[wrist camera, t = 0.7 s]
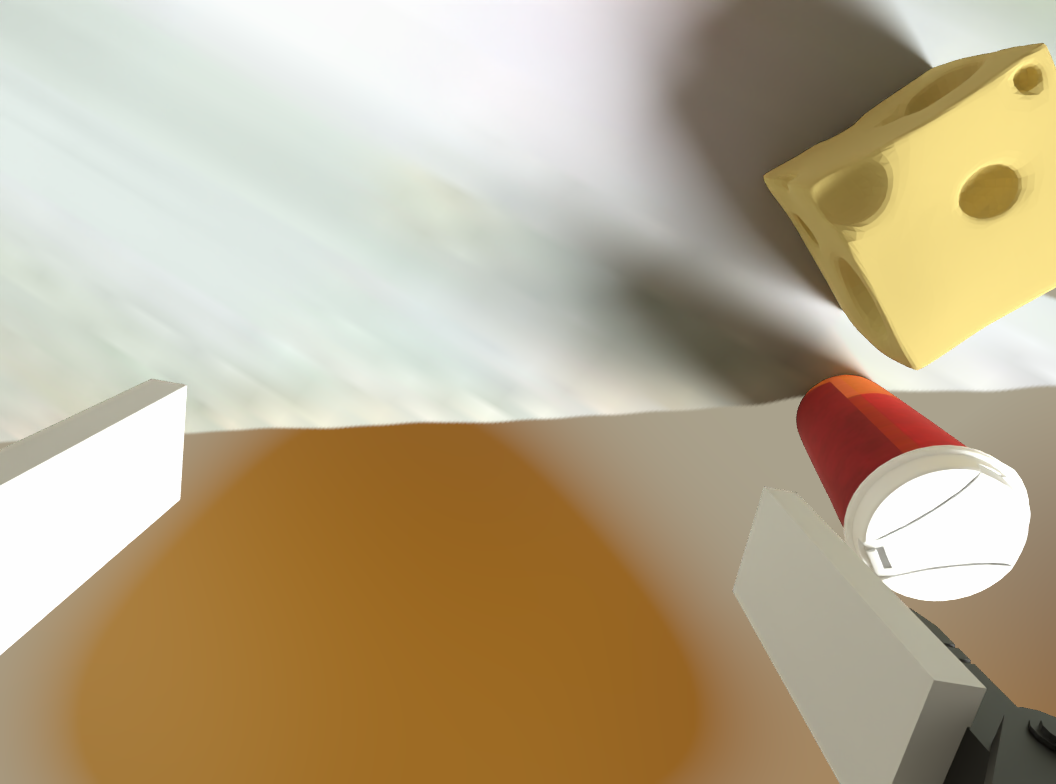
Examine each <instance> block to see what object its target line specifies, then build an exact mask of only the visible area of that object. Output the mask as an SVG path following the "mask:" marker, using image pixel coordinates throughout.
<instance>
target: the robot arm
mask: <svg viewBox="0 0 1056 784" xmlns="http://www.w3.org/2000/svg"><path fill="white" fill-rule="evenodd" d="M186 394H187V385H184V384H178V383H173V382H167V381H161V380H156V379H150V380H148V381H146V382H143V383H141V384H139V385H137V386H135V387H133V388H131V389H129V390H126V391H124V392H122V393H120V394H118V395H116V396H114V397H111V398H109V399H107V400H105V401H103V402H101V403H99V404H97V405H94V406H92V407H90V408H88V409H86V410H84V411H82V412H79V413H77V414H75V415H73V416H71V417H69V418H67V419H65V420H62V421H60V422H58V423H56V424H54V425H52V426H50V427H47V428H45V429H43V430H41V431H39V432H37V433H35V434H33V435H30V436H28V437H26V438H24V439H22V440H20V441H18V442H16V443H13V444H11V445H9V446H7V447H5V448H3V449H1V450H0V655H1V654H2V653H3V652H4V651H6V649H8V648H9V647H10V646H11V645H12V644H14V643H15V642H16V641H17V640H18V639H19V638H21V637H22V636H23V635H24V634H25V633H26V632H27V631H29V630H30V629H31V628H32V627H33V626H34V625H36V624H37V623H38V622H39V621H40V620H41V619H43V618H44V617H45V616H46V615H47V614H48V613H49V612H50V611H52V610H53V609H54V608H55V607H56V606H58V605H59V604H60V603H61V602H62V601H63V600H64V599H66V598H67V597H68V596H69V595H70V594H71V593H72V592H74V591H75V590H76V589H77V588H78V587H79V586H81V585H82V584H83V583H84V582H85V581H86V580H88V579H89V578H90V577H91V576H92V575H93V574H95V573H96V572H97V571H98V570H99V569H100V568H101V567H103V566H104V565H105V564H106V563H107V562H108V561H109V560H111V559H112V558H113V557H114V556H115V555H116V554H118V553H119V552H120V551H121V550H122V549H123V548H124V547H126V546H127V545H128V544H129V543H130V542H131V541H132V540H134V539H135V538H136V537H137V536H138V535H140V534H141V533H142V532H143V531H144V530H145V529H147V528H148V527H149V525H151V524H152V523H153V522H155V521H156V520H157V519H158V518H159V517H160V516H161V515H163V514H164V513H165V512H166V511H167V510H168V509H170V508H171V507H172V506H173V505H174V504H175V503H176V502H178V501H179V500H180V491H181V475H182V458H183V441H184V426H185V410H186ZM733 593H734V595H735V596H736V598H737V600H738V602H739V603H740V605H741V607H742V609H743V611H744V612H745V614H746V616H747V618H748V620H749V622H750V623H751V625H752V627H753V629H754V631H755V632H756V634H757V636H758V638H759V639H760V641H761V643H762V645H763V647H764V648H765V650H766V652H767V654H768V656H769V657H770V659H771V661H772V663H773V665H774V666H775V668H776V670H777V672H778V674H779V675H780V677H781V679H782V681H783V683H784V684H785V686H786V688H787V690H788V692H789V693H790V695H791V697H792V699H793V701H794V702H795V704H796V706H797V708H798V710H799V711H800V713H801V715H802V717H803V719H804V720H805V722H806V724H807V725H808V727H809V729H810V731H811V733H812V735H813V736H814V738H815V740H816V742H817V744H818V745H819V747H820V749H821V751H822V753H823V754H824V756H825V758H826V760H827V762H828V763H829V765H830V767H831V769H832V770H833V772H834V774H835V776H836V778H837V780H838V781H839V783H840V784H1056V717H1053V716H1050V715H1048V714H1046V713H1043V712H1041V711H1037V710H1033V709H1028V708H1024V707H1017V706H1016V705H1014V703H1013V702H1012V701H1011V700H1010V699H1009V698H1008V697H1006V695H1005V694H1004V693H1003V692H1002V691H1001V690H1000V689H999V688H998V687H997V686H996V685H995V684H994V683H993V682H991V680H990V679H989V678H987V676H986V675H985V674H984V673H983V672H982V671H981V670H980V669H979V668H978V667H977V666H976V665H975V664H971V663H970V661H971V660H970V659H969V658H968V657H967V656H966V655H965V654H964V653H963V652H962V651H961V650H960V649H958V648H955V644H954V643H953V642H952V641H951V640H950V639H949V638H948V637H947V636H946V635H945V634H944V633H943V632H942V631H941V630H940V629H939V628H938V627H937V626H936V625H934V624H932V623H931V622H930V621H928V620H927V619H925V618H924V617H922V616H921V615H919V614H918V613H917V612H915V611H914V610H912V609H911V608H908V607H907V606H906V605H905V604H904V603H903V602H902V601H901V600H900V599H899V598H898V597H897V596H896V595H895V593H893V591H891V589H890V588H889V587H888V586H887V585H886V584H885V583H884V582H883V581H882V580H881V579H880V578H879V577H878V576H877V575H876V574H875V573H874V572H873V571H872V570H871V569H870V568H869V567H868V566H867V565H866V564H865V563H864V562H863V561H862V560H861V558H860V557H859V556H858V555H857V554H856V553H855V552H854V551H853V550H852V549H851V548H850V547H849V546H848V545H847V544H846V543H845V542H844V541H843V540H842V539H841V538H840V537H839V536H838V535H837V534H836V533H835V532H834V531H833V530H832V529H831V528H830V527H829V526H828V525H827V524H826V522H825V521H823V519H822V518H821V517H820V516H819V515H818V514H817V513H816V512H815V511H814V510H813V509H812V508H811V507H810V506H809V505H808V504H807V503H806V502H805V501H804V500H803V499H802V498H801V497H800V496H799V495H798V494H797V493H796V492H793V491H787V490H781V489H776V488H770V487H764V488H763V492H762V495H761V499H760V502H759V505H758V508H757V512H756V515H755V518H754V521H753V525H752V528H751V531H750V535H749V538H748V541H747V545H746V548H745V551H744V555H743V558H742V561H741V565H740V568H739V571H738V574H737V577H736V581H735V584H734V587H733Z"/></svg>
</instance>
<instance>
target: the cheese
mask: <svg viewBox="0 0 1056 784" xmlns="http://www.w3.org/2000/svg"><path fill="white" fill-rule="evenodd" d="M763 179H764V182H765V184H766V186H767V187H768V189H769V190H770V192H771V193H772V195H773V196H774V197H775V198H776V200H777V201H778V202H779V204H780V205H781V207H782V208H783V209H784V211H785V212H786V213H787V215H788V216H789V218H790V219H791V221H792V223H793V224H794V226H795V227H796V229H797V231H798V232H799V234H800V236H801V238H802V239H803V241H804V243H805V245H806V246H807V248H808V250H809V252H810V253H811V255H812V257H813V259H814V260H815V262H816V264H817V266H818V267H819V269H820V271H821V272H822V274H823V276H824V278H825V279H826V281H827V283H828V285H829V287H830V288H831V290H832V292H833V294H834V296H835V298H836V299H837V301H838V303H839V305H840V306H841V308H842V310H843V311H844V313H845V314H846V315H847V317H848V318H849V320H850V321H851V323H852V324H853V325H854V326H855V327H856V329H857V330H858V331H859V332H860V333H861V334H862V335H863V336H864V337H865V338H866V339H867V340H868V341H869V342H870V343H871V344H872V345H873V346H875V347H876V348H877V349H878V350H879V351H881V352H882V353H883V354H885V355H886V356H888V357H889V358H891V359H893V360H895V361H897V362H899V363H901V364H903V365H905V366H907V367H909V368H912V369H915V370H919V369H921V368H923V367H925V366H927V365H928V364H930V363H931V362H933V361H934V360H936V359H938V358H939V357H941V356H942V355H944V354H945V353H947V352H948V351H950V350H951V349H952V348H954V347H955V346H957V345H958V344H960V343H961V342H963V341H964V340H966V339H967V338H969V337H970V336H972V335H973V334H975V333H976V332H978V331H979V330H981V329H983V328H984V327H986V326H987V325H989V324H991V323H993V322H994V321H996V320H998V319H1000V318H1001V317H1003V316H1005V315H1007V314H1009V313H1010V312H1012V311H1014V310H1016V309H1018V308H1019V307H1021V306H1023V305H1025V304H1027V303H1028V302H1030V301H1032V300H1034V299H1036V298H1037V297H1039V296H1041V295H1043V294H1045V293H1046V292H1048V291H1050V290H1052V289H1054V288H1056V68H1055V65H1054V62H1053V60H1052V57H1051V55H1050V53H1049V51H1048V49H1047V46H1046V45H1045V44H1044V43H1039V44H1031V45H1026V46H1018V47H1012V48H1008V49H1002V50H1000V51H997V52H992V53H987V54H981V55H977V56H972V57H967V58H962V59H959V60H955V61H952V62H949V63H946V64H943V65H940V66H937V67H934V68H932V69H930V70H928V71H927V72H925V73H924V74H922V75H921V76H919V77H918V78H916V79H915V80H913V81H912V82H910V83H909V84H907V85H906V86H905V87H903V88H902V89H900V90H899V91H897V92H896V93H894V94H893V95H891V96H890V97H888V98H887V99H885V100H884V101H882V102H881V103H879V104H878V105H877V106H875V107H874V108H872V109H871V110H870V111H868V112H867V113H865V114H864V115H863V116H862V117H861V118H860V119H859V120H858V121H857V122H856V123H855V124H854V125H853V126H851V127H850V128H848V129H847V130H845V131H843V132H842V133H840V134H838V135H836V136H834V137H832V138H830V139H828V140H826V141H823V142H820V143H818V144H816V145H814V146H813V147H811V148H809V149H808V150H806V151H804V152H803V153H801V154H800V155H798V156H796V157H794V158H793V159H791V160H789V161H787V162H786V163H784V164H782V165H780V166H778V167H776V168H775V169H773V170H771V171H769V172H768V173H766V174H765V175H764V176H763Z"/></svg>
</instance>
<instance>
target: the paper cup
mask: <svg viewBox="0 0 1056 784" xmlns="http://www.w3.org/2000/svg"><path fill="white" fill-rule="evenodd" d="M796 422H797V429H798V432H799V435H800V437H801V440H802V442H803V445H804V447H805V449H806V451H807V453H808V455H809V457H810V459H811V461H812V464H813V465H814V468H815V470H816V472H817V474H818V476H819V478H820V480H821V482H822V484H823V486H824V488H825V490H826V492H827V494H828V496H829V498H830V500H831V502H832V504H833V507H834V509H835V511H836V513H837V515H838V517H839V520H840V522H841V524H842V526H843V528H844V538H845V543H846V544H847V545H848V546H849V547H850V548H851V549H852V550H853V551H854V552H855V553H856V554H857V555H858V556H859V557H860V558H861V560H862V561H863V562H864V563H865V564H866V565H867V566H868V567H869V568H870V569H871V570H872V571H873V572H874V573H875V574H876V575H877V576H878V577H879V578H880V579H881V580H882V581H883V582H884V583H885V584H886V585H887V586H888V587H889V588H890V589H892V590H893V591H895V592H898V593H900V594H902V595H905V596H908V597H911V598H916V599H919V600H928V601H945V600H953V599H958V598H962V597H966V596H970V595H972V594H975V593H977V592H980V591H982V590H984V589H986V588H987V587H990V586H991V585H993V584H994V583H996V582H997V581H999V580H1000V579H1001V578H1002V577H1003V576H1005V575H1006V574H1007V573H1008V572H1009V571H1010V570H1011V569H1012V568H1013V565H1015V563H1016V561H1017V559H1018V557H1019V555H1020V554H1021V551H1022V549H1023V547H1024V545H1025V542H1026V539H1027V534H1028V525H1029V521H1030V508H1029V504H1028V503H1029V501H1028V496H1027V491H1026V489H1025V487H1024V484H1023V482H1022V480H1021V478H1020V477H1019V476H1018V474H1017V473H1016V471H1015V470H1014V469H1012V468H1010V467H1009V466H1007V465H1005V464H1003V463H1002V462H1000V461H999V460H997V459H995V458H994V457H992V456H991V455H989V454H986V453H984V452H982V451H979V450H976V449H972V448H968V447H966V446H965V445H963V444H962V443H961V442H959V441H958V440H956V439H955V438H954V437H952V436H951V435H949V434H948V433H947V432H945V431H944V430H942V429H941V428H940V427H938V426H937V425H935V424H934V423H933V422H931V421H930V420H928V419H927V418H925V417H924V416H923V415H921V414H920V413H918V412H917V411H916V410H914V409H912V408H911V407H910V406H908V405H907V404H906V403H904V402H903V401H901V400H900V399H898V398H897V397H895V396H894V395H893V394H891V393H890V392H888V391H887V390H885V389H884V388H882V387H881V386H879V385H878V384H876V383H874V382H872V381H871V380H868V379H866V378H863V377H860V376H856V375H838V376H834V377H830V378H827V379H825V380H823V381H821V382H819V383H818V384H816V385H815V386H814V387H812V388H811V389H810V390H809V391H808V392H807V393H806V395H805V396H804V397H803V399H802V401H801V402H800V405H799V407H798V410H797V417H796Z"/></svg>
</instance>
